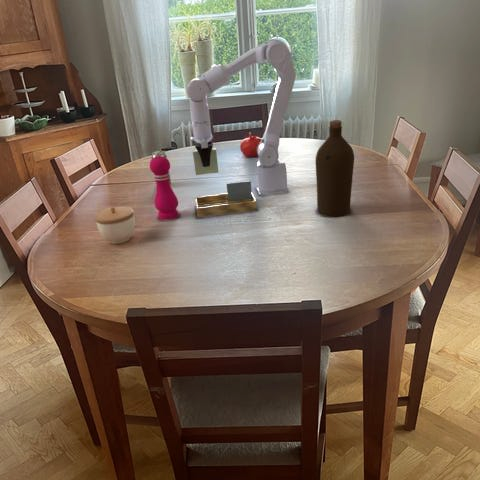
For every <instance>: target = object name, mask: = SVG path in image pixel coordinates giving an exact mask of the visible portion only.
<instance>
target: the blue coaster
mask: <svg viewBox="0 0 480 480" xmlns="http://www.w3.org/2000/svg"><path fill="white" fill-rule="evenodd" d="M225 185H226V193H227V194H228V202H232V201H240V200H248V199H252V193H253V190H252V181H251V180H243V181H234V182H227V183H226V184H225Z"/></svg>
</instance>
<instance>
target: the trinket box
mask: <svg viewBox="0 0 480 480" xmlns="http://www.w3.org/2000/svg"><path fill="white" fill-rule="evenodd" d="M134 214H135V213H134V209H132V207H128V206H111V207H108V208H104V209H102V210H100V211H98V212H96V213H95V215H94V217H93V218H94V222H95V223H96V227H97V230H98V231H99V232H98V233H100V235H101V236H102V237H103V238H104V239H105V240H107V241H108V242H109V243H111V244H122V243H126V242H128V241H129V240H130V239H131V237H132V236H133V234H134V232H135V228H136V221H135V217H134Z"/></svg>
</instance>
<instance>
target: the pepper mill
mask: <svg viewBox="0 0 480 480" xmlns="http://www.w3.org/2000/svg"><path fill="white" fill-rule="evenodd" d="M155 151H156V152H155ZM155 151H154V152H155V156H156V157H154V158H153V159H152V158H151V159H150V160H149V170H150V171H151V173H153V174H152V177H153V180H154V181H155V185H156V190H155V196H154V202H153V203H154V208H155V209H156V210H157V211H158V212H157V216H158V219H159V220H162V221H169V220H174V219H176V218H178V217H179V215H180V213H179V209H177V208H178V206H179V199H178V197H177V195H176V193H175V192H174V190H173V188H172V186H171V185H172V184H171V185H170V181H169V178H170V179H171V173H170V169H171V163H170V159H168V157H167V158H166V157H163V156H161V152H160V151H161V150H155ZM168 171H169V172H168Z"/></svg>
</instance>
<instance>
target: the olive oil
mask: <svg viewBox="0 0 480 480" xmlns="http://www.w3.org/2000/svg"><path fill="white" fill-rule="evenodd" d="M342 122H343V121H342V120H337V119H335V120H330V121H329V127H328V137H327V138H326V139H325V140H324V142H323V143H321V145H320V146H319V147H318V149H317V150H316V151H317V152H316V154H315V177H316V204H317V205H316V206H317V208H316V209H317V213H318V214H319V215H321V216H324V217H329V218H331V217H333V218H336V217H341V216H345V215H348V214H349V213H350V210H351V201H352V187H353V178H354V177H353V175H354V166H355V153H354V150H353V148H352V146H351V144H350V143H348V141H347V140H346V139H345V137H343V135H342V133H343V132H342V131H343V126H342Z"/></svg>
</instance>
